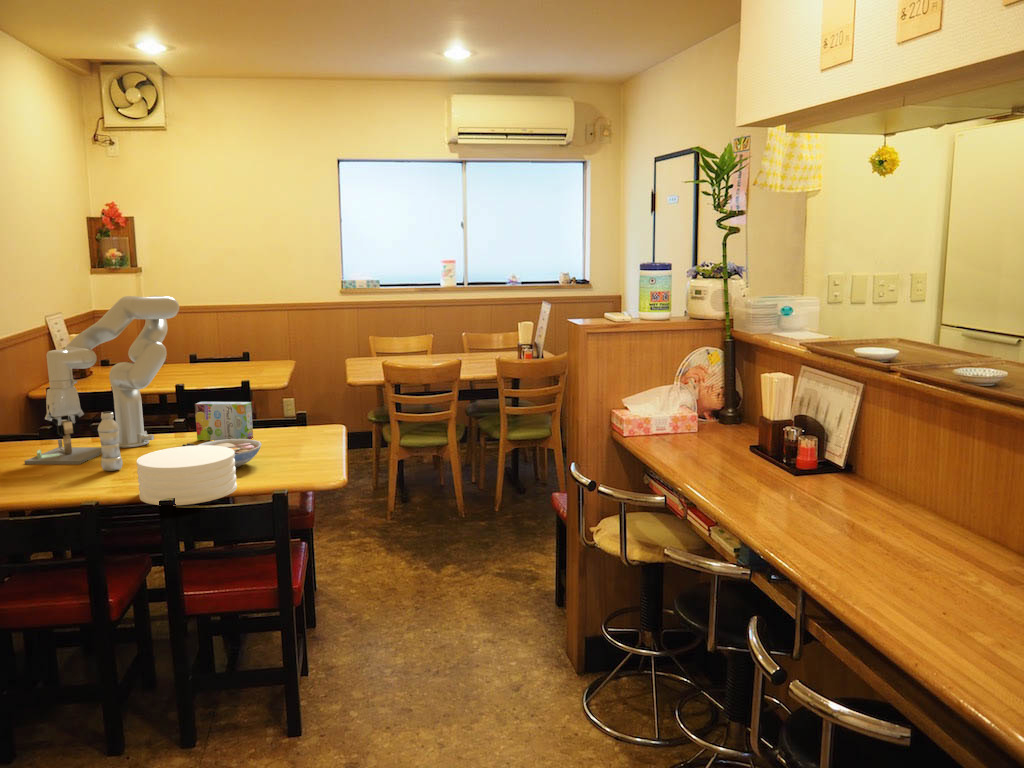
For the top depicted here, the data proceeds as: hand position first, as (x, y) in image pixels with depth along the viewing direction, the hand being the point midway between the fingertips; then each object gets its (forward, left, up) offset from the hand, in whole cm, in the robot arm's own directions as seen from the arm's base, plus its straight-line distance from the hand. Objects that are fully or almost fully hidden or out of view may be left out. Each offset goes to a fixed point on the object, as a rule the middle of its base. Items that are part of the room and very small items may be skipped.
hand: (66, 434), depth 302 cm
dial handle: (+2, -2, -7) cm, 7 cm away
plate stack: (-63, +42, -9) cm, 76 cm away
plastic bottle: (-26, +18, -9) cm, 33 cm away
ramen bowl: (-64, +13, -9) cm, 66 cm away
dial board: (0, 0, -8) cm, 8 cm away
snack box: (-47, -27, -9) cm, 55 cm away
